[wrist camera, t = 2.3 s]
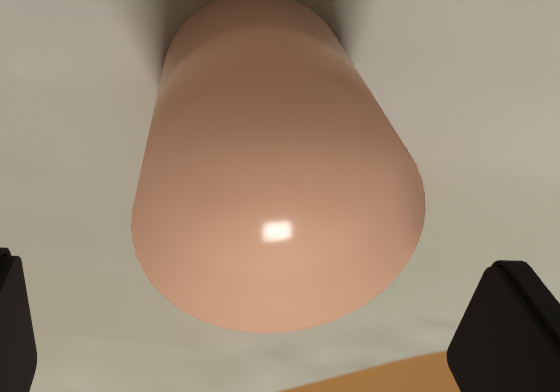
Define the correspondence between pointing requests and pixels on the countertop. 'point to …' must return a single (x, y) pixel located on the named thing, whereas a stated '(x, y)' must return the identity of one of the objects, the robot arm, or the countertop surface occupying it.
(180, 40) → the peach capsule cylinder
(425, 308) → the countertop surface
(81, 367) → the countertop surface
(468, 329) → the robot arm
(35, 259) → the countertop surface
